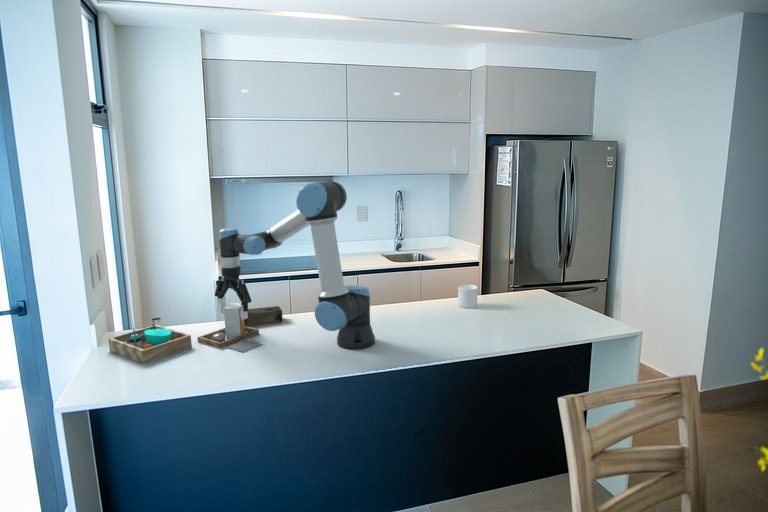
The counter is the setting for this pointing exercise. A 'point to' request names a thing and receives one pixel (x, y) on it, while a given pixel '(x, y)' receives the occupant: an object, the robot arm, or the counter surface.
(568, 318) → the counter surface
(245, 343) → the mat
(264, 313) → the beverage carton
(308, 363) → the counter surface
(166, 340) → the contraption on wooden base
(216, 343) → the frame
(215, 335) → the tin
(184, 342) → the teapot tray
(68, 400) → the counter surface
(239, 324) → the small box
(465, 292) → the cup
